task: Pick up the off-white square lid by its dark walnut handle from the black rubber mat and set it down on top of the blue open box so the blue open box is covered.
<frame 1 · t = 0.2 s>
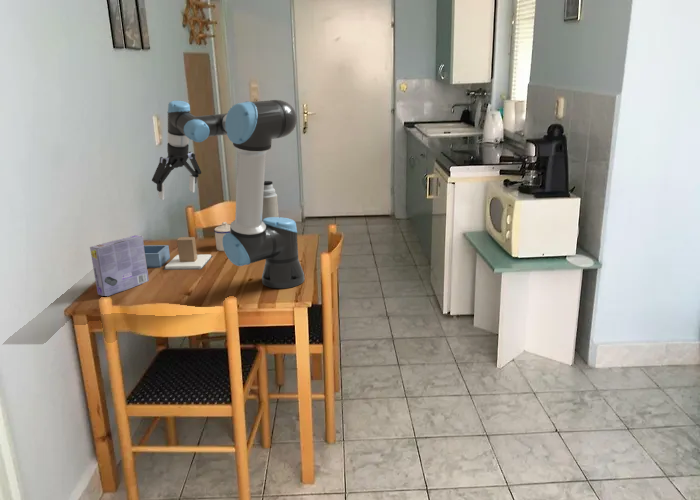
hand: (176, 194, 222), 27 cm above the table, fingers open, 13 cm apart
mat: (189, 263, 227), on the table
teacup with lid: (228, 248, 245), on the table
thermos bottle: (271, 246, 246), on the table
blue open box: (151, 263, 228), on the table
cake pan box: (125, 288, 204), on the table
lid: (188, 262, 227), resting on mat
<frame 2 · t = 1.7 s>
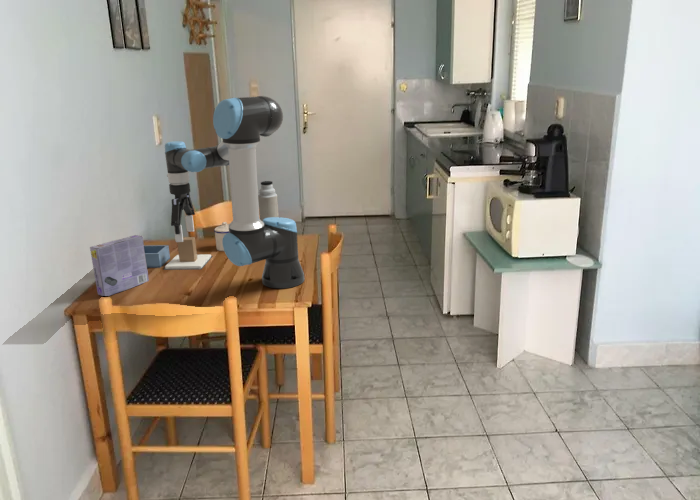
hand: (185, 236, 224), 11 cm above the table, fingers open, 13 cm apart
nothing on the table moved.
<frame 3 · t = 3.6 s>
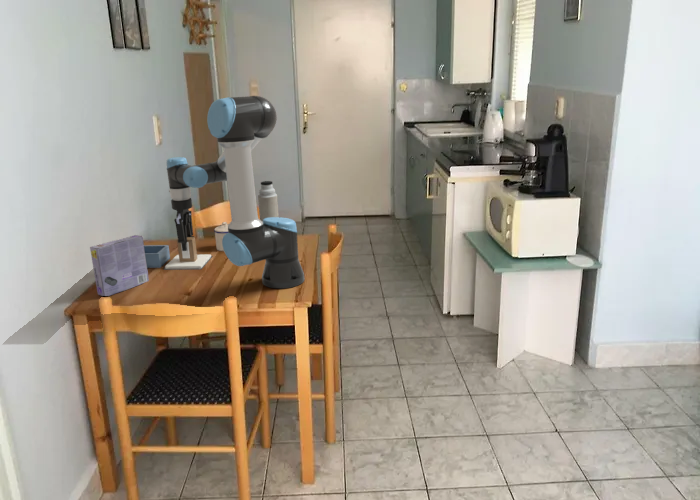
hand: (188, 256, 226), 3 cm above the table, fingers closed on lid, 3 cm apart
lid: (188, 262, 227), resting on mat, touching gripper
everything else where it was.
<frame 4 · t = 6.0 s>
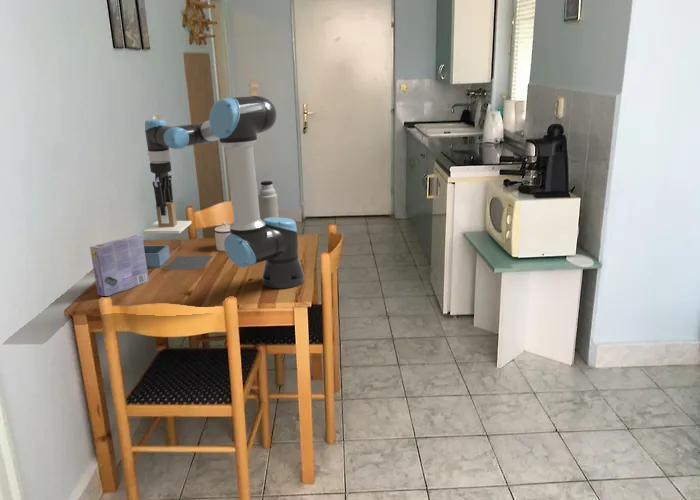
hand: (167, 221, 222), 17 cm above the table, fingers closed on lid, 3 cm apart
lid: (168, 228, 223), point 15 cm above the table, touching gripper
everything else where it was.
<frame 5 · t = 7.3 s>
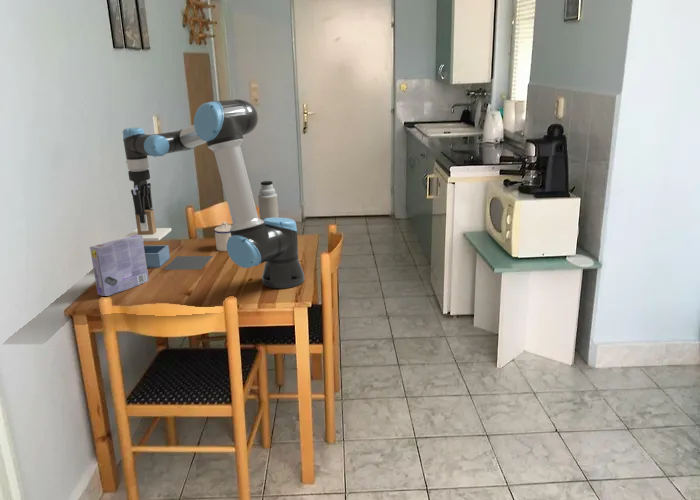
hand: (146, 229, 223), 14 cm above the table, fingers closed on lid, 3 cm apart
lid: (147, 235, 224), point 12 cm above the table, touching gripper
everything else where it was.
when the fingers open (10 cm above the table, at t = 8.4 s): lid drops 1 cm, resting on blue open box.
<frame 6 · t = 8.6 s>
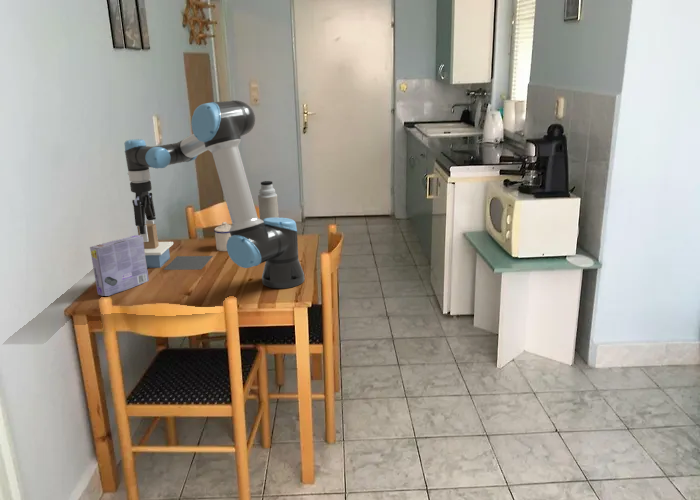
hand: (148, 238, 224), 10 cm above the table, fingers open, 7 cm apart
lid: (149, 249, 226), point 6 cm above the table, touching blue open box
everything else where it was.
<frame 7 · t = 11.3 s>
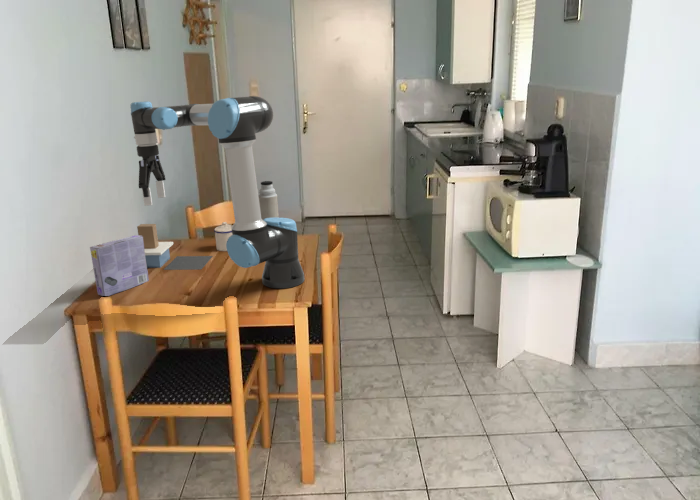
hand: (155, 201, 217), 26 cm above the table, fingers open, 13 cm apart
nothing on the table moved.
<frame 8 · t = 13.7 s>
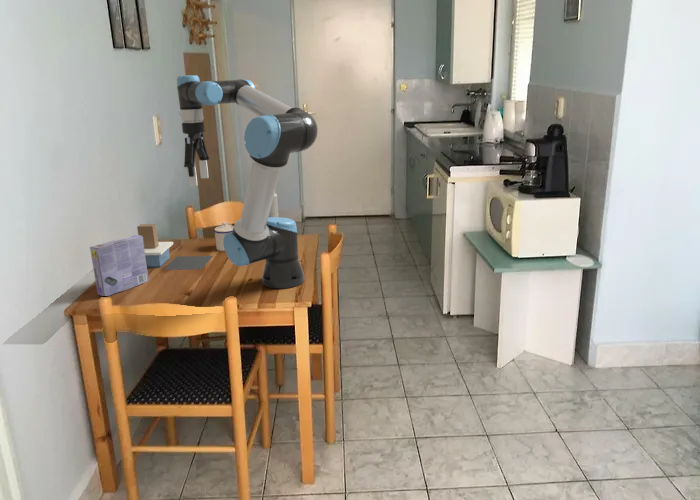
hand: (199, 181, 206), 35 cm above the table, fingers open, 13 cm apart
nothing on the table moved.
at the end: lid 0.0 cm off-centre on the blue open box, point 6.0 cm above the blue open box's base; lid tilted 0°; the gripper is holding nothing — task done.
